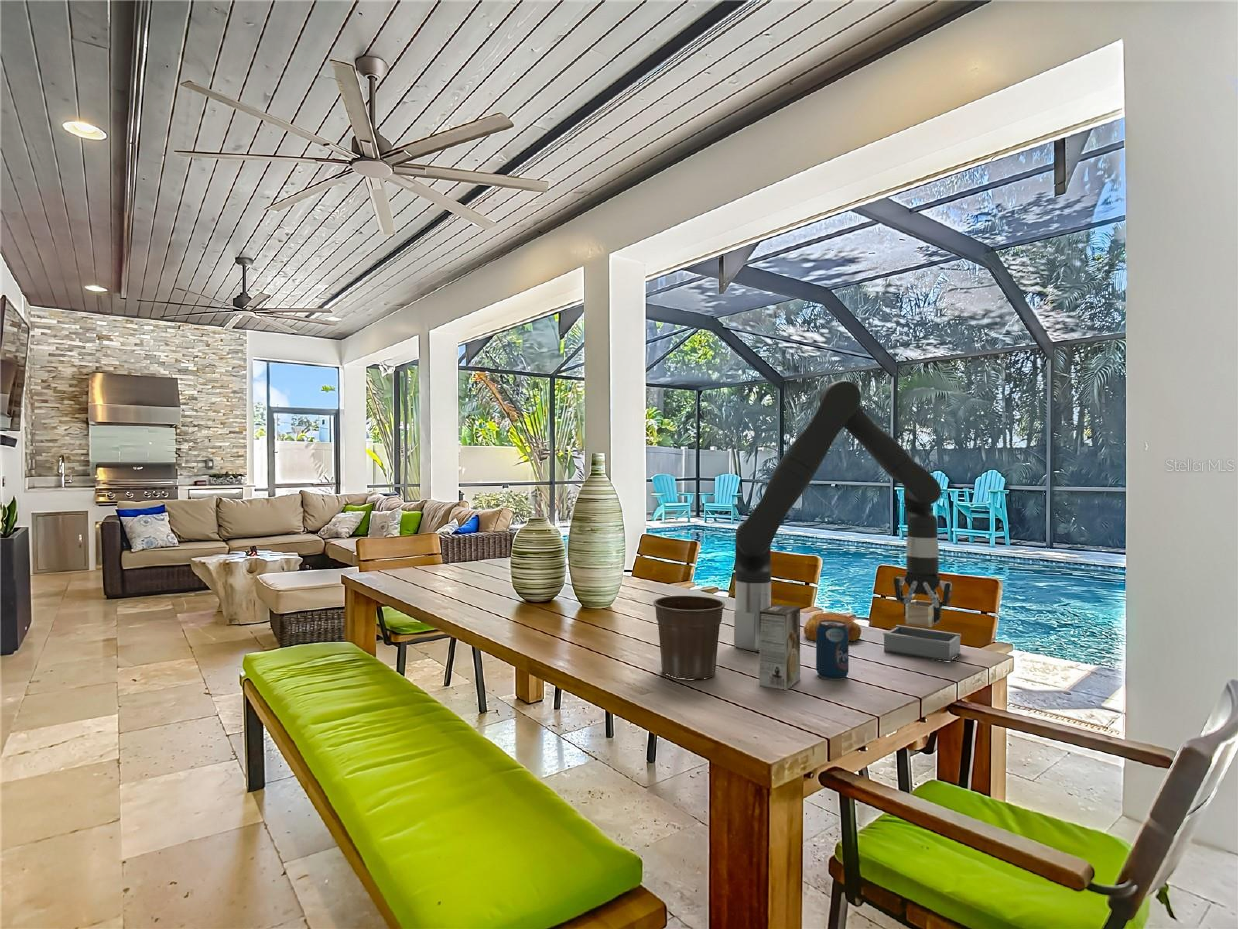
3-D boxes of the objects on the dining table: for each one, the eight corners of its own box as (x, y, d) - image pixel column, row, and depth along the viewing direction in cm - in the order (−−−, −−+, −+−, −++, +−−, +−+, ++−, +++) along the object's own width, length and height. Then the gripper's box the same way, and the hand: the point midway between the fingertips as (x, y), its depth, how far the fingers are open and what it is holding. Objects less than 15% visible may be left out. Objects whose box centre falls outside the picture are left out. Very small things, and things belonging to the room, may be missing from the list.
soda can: (845, 682, 147) (845, 627, 147) (812, 678, 150) (813, 623, 150) (851, 674, 153) (851, 621, 153) (820, 670, 156) (820, 618, 156)
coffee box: (772, 675, 152) (773, 603, 152) (800, 679, 149) (801, 607, 149) (758, 685, 144) (758, 610, 144) (787, 691, 141) (788, 614, 141)
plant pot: (716, 688, 142) (716, 611, 143) (643, 679, 148) (644, 605, 148) (730, 667, 158) (731, 598, 158) (664, 660, 163) (664, 593, 163)
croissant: (865, 652, 181) (870, 623, 180) (807, 643, 181) (812, 614, 181) (848, 638, 195) (853, 610, 195) (795, 629, 196) (799, 602, 195)
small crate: (930, 627, 167) (930, 607, 168) (905, 624, 171) (905, 604, 171) (938, 622, 174) (938, 602, 174) (914, 618, 177) (914, 599, 178)
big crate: (950, 663, 163) (950, 642, 163) (883, 651, 173) (883, 632, 173) (961, 653, 172) (961, 634, 172) (896, 643, 182) (896, 625, 182)
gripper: (888, 553, 174) (888, 618, 174) (949, 558, 165) (949, 627, 165) (897, 551, 180) (897, 614, 180) (956, 555, 171) (956, 621, 171)
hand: (922, 620), depth 172 cm, fingers closed on small crate, 6 cm apart
